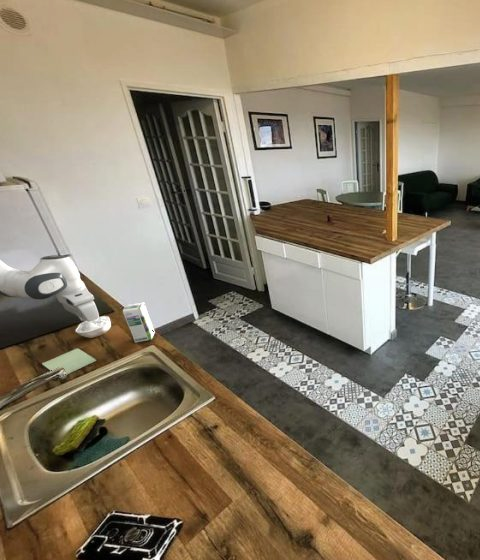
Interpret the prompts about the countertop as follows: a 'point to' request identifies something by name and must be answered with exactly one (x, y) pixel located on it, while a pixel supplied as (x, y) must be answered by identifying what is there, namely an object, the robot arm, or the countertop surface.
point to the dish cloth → (70, 361)
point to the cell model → (94, 327)
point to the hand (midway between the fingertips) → (86, 323)
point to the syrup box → (139, 322)
